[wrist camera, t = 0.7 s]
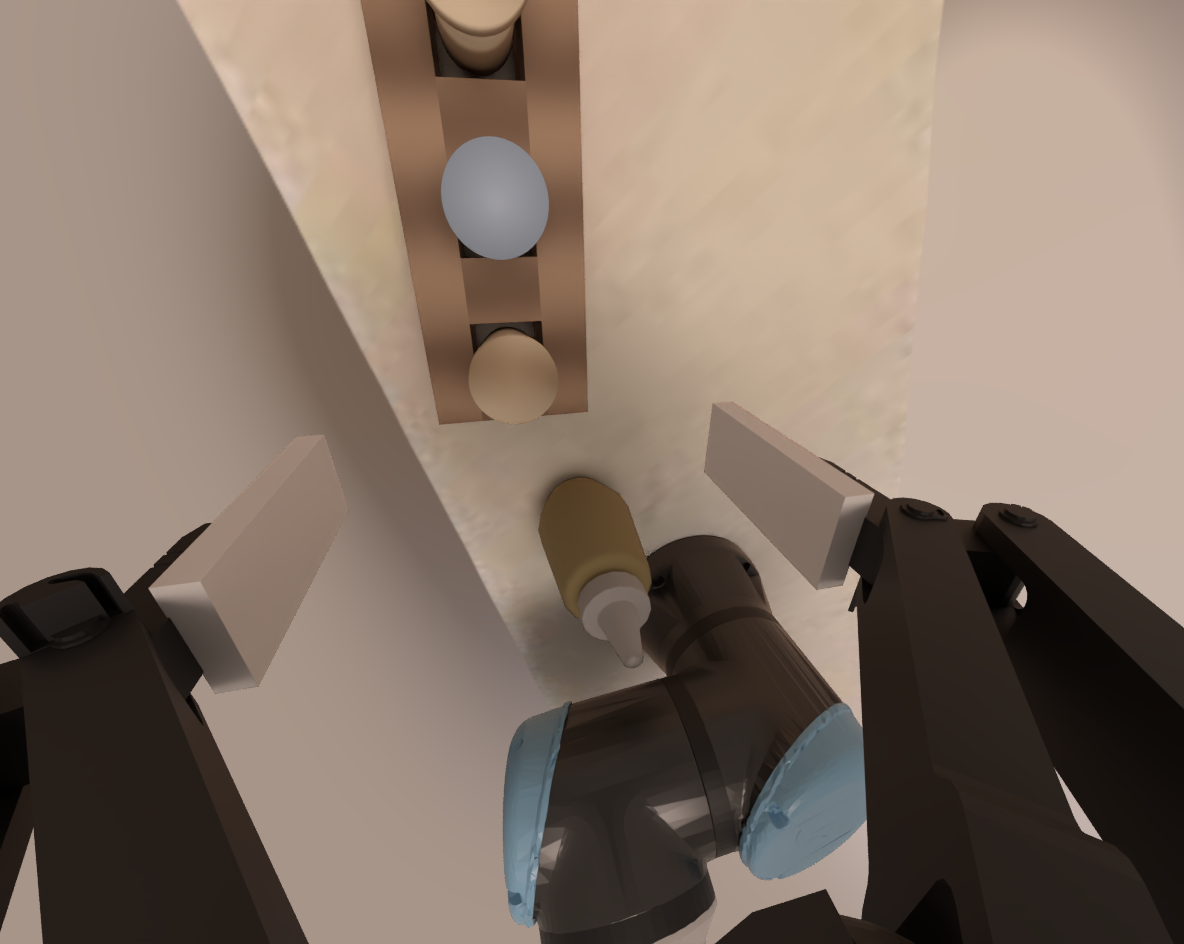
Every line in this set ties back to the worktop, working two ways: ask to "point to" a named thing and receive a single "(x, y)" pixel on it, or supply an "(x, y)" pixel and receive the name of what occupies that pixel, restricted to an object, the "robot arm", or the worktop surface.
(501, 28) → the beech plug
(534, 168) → the slate plug
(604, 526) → the squeeze bottle
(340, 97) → the worktop surface
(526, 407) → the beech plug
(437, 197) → the walnut block
